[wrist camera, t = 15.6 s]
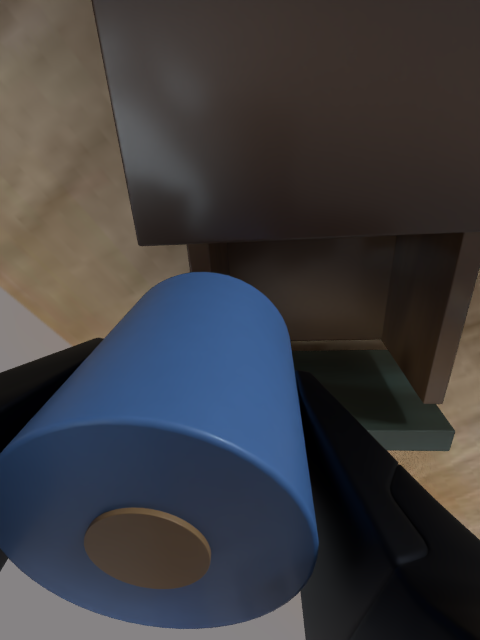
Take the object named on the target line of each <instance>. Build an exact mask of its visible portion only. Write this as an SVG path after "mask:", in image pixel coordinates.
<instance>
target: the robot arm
mask: <svg viewBox="0 0 480 640" xmlns="http://www.w3.org/2000/svg"><path fill="white" fill-rule="evenodd" d="M102 341H103V338H95V339H92V340H90V341H87V342H84V343H81V344H79V345H76V346H73V347H70V348H67V349H65V350H62V351H59V352H56V353H54V354H51V355H48V356H45V357H43V358H40V359H37V360H35V361H32V362H29V363H26V364H23V365H21V366H18V367H15V368H12V369H10V370H7V371H4V372H1V373H0V453H1V452H2V451H3V449H4V448H5V447H6V446H7V445H8V444H9V443H10V442H11V441H12V440H13V438H14V437H15V436H16V435H17V434H18V433H19V432H20V431H21V430H22V429H23V427H24V426H25V425H26V424H27V423H28V422H29V421H30V420H31V419H32V418H33V416H34V415H35V414H36V413H37V412H38V411H39V410H40V409H41V408H42V407H43V405H44V404H45V403H46V402H47V401H48V400H49V399H50V398H51V397H52V396H53V394H54V393H55V392H56V391H57V390H58V389H59V388H60V387H61V386H62V385H63V383H64V382H65V381H66V380H67V379H68V378H69V377H70V376H71V375H72V374H73V372H74V371H75V370H76V369H77V368H78V367H79V366H80V365H81V364H82V363H83V361H84V360H85V359H86V358H87V357H88V356H89V355H90V354H91V353H92V352H93V350H94V349H95V348H96V347H97V346H98V345H99V344H100V343H101V342H102ZM295 378H296V385H297V392H298V399H299V406H300V413H301V420H302V427H303V434H304V441H305V448H306V455H307V462H308V469H309V476H310V483H311V490H312V497H313V504H314V511H315V518H316V525H317V532H318V540H319V546H318V556H317V560H316V563H315V567H314V570H313V573H312V575H311V576H310V578H309V580H308V582H307V583H306V585H305V586H304V587H303V588H302V589H301V590H300V591H301V600H302V609H303V618H304V628H305V636H306V640H480V540H479V539H478V538H477V537H476V536H475V535H474V534H473V533H471V532H470V531H469V530H468V529H467V528H466V527H465V526H464V525H462V524H461V523H460V522H459V521H458V520H457V519H456V518H455V517H454V516H453V515H452V514H451V513H449V512H448V511H447V510H446V509H445V508H444V507H443V506H442V505H441V504H440V503H439V502H438V501H436V500H435V499H434V498H433V497H432V496H431V495H430V494H429V493H428V492H427V491H426V490H425V489H424V488H423V487H422V486H421V485H420V484H419V483H418V482H417V481H416V480H415V479H414V478H413V477H412V476H411V475H410V474H409V473H408V472H407V471H406V470H405V469H404V468H403V467H402V466H401V465H398V462H397V461H396V460H395V459H394V458H393V457H392V455H391V454H390V453H389V452H388V451H387V450H386V449H385V448H384V447H383V446H382V445H381V444H380V443H379V442H378V441H377V440H376V439H375V438H374V437H373V436H372V435H371V434H370V433H369V432H368V431H367V430H366V429H365V428H364V427H363V426H362V425H361V424H360V423H359V422H358V421H357V420H356V419H355V418H354V416H353V415H352V414H351V413H350V412H349V411H348V410H347V409H346V408H345V407H344V406H343V405H342V404H341V403H340V402H339V401H338V400H337V399H336V398H335V397H334V396H333V395H332V394H331V393H330V392H329V391H328V390H327V389H326V388H325V387H324V386H323V385H322V384H321V383H320V382H319V381H318V380H317V379H316V377H315V376H314V375H313V374H312V373H310V372H307V371H301V370H295ZM7 559H8V557H7V556H6V555H5V553H4V552H3V551H2V550H1V549H0V571H1V569H2V567H3V566H4V564H5V563H6V561H7Z"/></svg>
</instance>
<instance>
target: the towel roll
mask: <svg viewBox="0 0 480 640" xmlns="http://www.w3.org/2000/svg"><path fill="white" fill-rule="evenodd" d="M318 546H319V540H318V532H317V525H316V518H315V511H314V504H313V497H312V490H311V483H310V476H309V469H308V462H307V455H306V448H305V441H304V434H303V427H302V420H301V413H300V406H299V399H298V392H297V385H296V378H295V371H294V364H293V357H292V350H291V343H290V336H289V333H288V329H287V326H286V324H285V322H284V320H283V317H282V316H281V314H280V313H279V311H278V309H277V308H276V307H275V306H274V304H273V303H272V302H271V301H270V300H269V299H268V298H267V297H266V296H265V295H264V294H263V293H261V292H260V291H259V290H257V289H256V288H254V287H253V286H251V285H249V284H247V283H246V282H244V281H242V280H239V279H237V278H234V277H231V276H228V275H223V274H219V273H211V272H192V273H186V274H181V275H177V276H174V277H171V278H169V279H166V280H164V281H162V282H160V283H159V284H157V285H155V286H154V287H152V288H151V289H150V290H149V291H148V292H147V293H145V294H144V295H143V297H142V298H141V299H140V300H139V301H138V302H137V303H136V304H135V305H134V306H133V308H132V309H131V310H130V311H129V312H128V313H127V314H126V315H125V316H124V317H123V319H122V320H121V321H120V322H119V323H118V324H117V325H116V326H115V327H114V328H113V330H112V331H111V332H110V333H109V334H108V335H107V336H106V337H105V338H104V339H103V341H102V342H101V343H100V344H99V345H98V346H97V347H96V348H95V349H94V350H93V352H92V353H91V354H90V355H89V356H88V357H87V358H86V359H85V360H84V361H83V363H82V364H81V365H80V366H79V367H78V368H77V369H76V370H75V371H74V372H73V374H72V375H71V376H70V377H69V378H68V379H67V380H66V381H65V382H64V383H63V385H62V386H61V387H60V388H59V389H58V390H57V391H56V392H55V393H54V394H53V396H52V397H51V398H50V399H49V400H48V401H47V402H46V403H45V404H44V405H43V407H42V408H41V409H40V410H39V411H38V412H37V413H36V414H35V415H34V416H33V418H32V419H31V420H30V421H29V422H28V423H27V424H26V425H25V426H24V427H23V429H22V430H21V431H20V432H19V433H18V434H17V435H16V436H15V437H14V438H13V440H12V441H11V442H10V443H9V444H8V445H7V446H6V447H5V448H4V449H3V451H2V452H1V453H0V549H1V550H2V551H3V552H4V553H5V555H6V556H7V557H8V558H9V559H10V560H11V561H12V562H13V563H14V564H15V565H16V566H17V567H18V568H19V569H20V570H21V571H22V572H24V573H25V574H26V575H27V576H29V577H30V578H31V579H32V580H34V581H35V582H37V583H38V584H40V585H41V586H43V587H44V588H46V589H47V590H49V591H51V592H52V593H54V594H56V595H57V596H59V597H61V598H63V599H65V600H67V601H69V602H71V603H73V604H75V605H78V606H80V607H82V608H85V609H88V610H90V611H93V612H95V613H98V614H101V615H104V616H108V617H111V618H114V619H118V620H122V621H126V622H130V623H136V624H141V625H147V626H154V627H162V628H176V629H198V628H213V627H220V626H227V625H233V624H237V623H242V622H246V621H249V620H252V619H255V618H258V617H261V616H263V615H265V614H268V613H270V612H272V611H274V610H276V609H277V608H279V607H281V606H282V605H284V604H285V603H287V602H288V601H290V600H291V599H292V598H293V597H294V596H296V595H297V594H298V593H299V592H300V590H301V589H302V588H303V587H304V586H305V585H306V583H307V582H308V580H309V578H310V576H311V575H312V573H313V570H314V567H315V563H316V560H317V556H318Z"/></svg>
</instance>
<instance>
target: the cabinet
mask: <svg viewBox="0 0 480 640" xmlns="http://www.w3.org/2000/svg"><path fill="white" fill-rule="evenodd" d="M92 6H93V11H94V16H95V21H96V26H97V32H98V37H99V42H100V47H101V53H102V58H103V63H104V68H105V73H106V79H107V84H108V89H109V94H110V99H111V105H112V110H113V115H114V120H115V126H116V131H117V136H118V141H119V146H120V152H121V157H122V162H123V167H124V172H125V178H126V183H127V188H128V193H129V199H130V204H131V209H132V214H133V219H134V225H135V230H136V235H137V240H138V244H139V246H158V245H182V244H205V243H229V242H253V241H277V240H300V239H324V238H348V237H371V236H395V235H419V234H442V233H466V232H480V0H92Z"/></svg>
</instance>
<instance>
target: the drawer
mask: <svg viewBox="0 0 480 640" xmlns="http://www.w3.org/2000/svg"><path fill="white" fill-rule="evenodd" d="M187 251H188V259H189V267H190V273H192V272H211V273H219V274H223V275H228V276H231V277H234V278H237V279H239V280H242V281H244V282H246V283H247V284H249V285H251V286H253V287H254V288H256V289H257V290H259V291H260V292H261V293H263V294H264V295H265V296H266V297H267V298H268V299H269V300H270V301H271V302H272V303H273V304H274V306H275V307H276V308H277V309H278V311H279V313H280V314H281V316H282V317H283V320H284V322H285V324H286V326H287V329H288V333H289V336H290V341H312V340H373V339H381V340H382V342H383V343H384V345H385V346H386V348H387V349H388V350H328V351H292V357H293V364H294V371H295V370H301V371H307V372H310V373H312V374H313V375H314V376H315V377H316V379H317V380H318V381H319V382H320V383H321V384H322V385H323V386H324V387H325V388H326V389H327V390H328V391H329V392H330V393H331V394H332V395H333V396H334V397H335V398H336V399H337V400H338V401H339V402H340V403H341V404H342V405H343V406H344V407H345V408H346V409H347V410H348V411H349V412H350V413H351V414H352V415H353V416H354V418H355V419H356V420H357V421H358V422H359V423H360V424H361V425H362V426H363V427H364V428H365V429H366V430H367V431H368V432H369V433H370V434H371V435H372V436H373V437H374V438H375V439H376V440H377V441H378V442H379V443H380V444H381V445H382V446H383V447H384V448H385V449H386V450H401V451H449V450H450V447H451V444H452V440H453V437H454V434H455V430H454V429H453V427H452V426H451V425H450V423H449V422H448V420H447V419H446V418H445V416H444V415H443V413H442V412H441V411H440V409H439V408H438V406H437V405H436V404H442V403H443V401H444V397H445V393H446V389H447V386H448V382H449V378H450V375H451V371H452V367H453V364H454V360H455V356H456V353H457V349H458V345H459V341H460V338H461V334H462V330H463V327H464V323H465V319H466V316H467V312H468V308H469V305H470V301H471V297H472V293H473V290H474V286H475V282H476V279H477V275H478V271H479V268H480V232H466V233H442V234H419V235H395V236H371V237H348V238H324V239H300V240H277V241H253V242H229V243H205V244H187Z"/></svg>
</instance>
